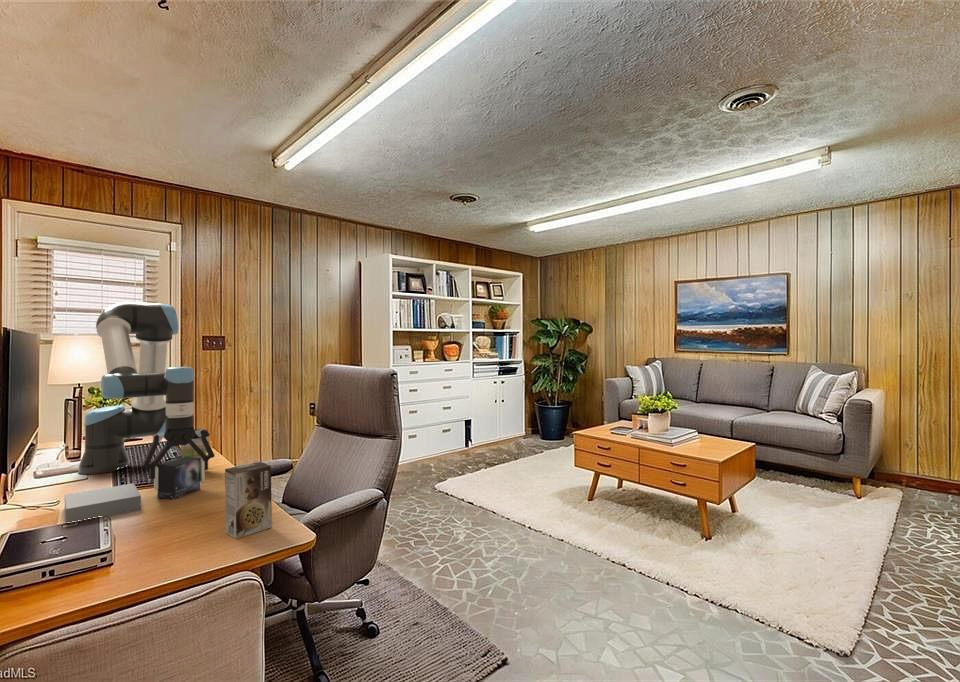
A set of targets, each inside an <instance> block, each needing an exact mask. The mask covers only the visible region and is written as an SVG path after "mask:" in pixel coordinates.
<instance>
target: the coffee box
mask: <svg viewBox="0 0 960 682" xmlns="http://www.w3.org/2000/svg"><path fill="white" fill-rule="evenodd" d="M224 474H225V475H224V478H225V480H224V481H225V483H224V485H225V486H224V487H225V488H224V489H225V491H224V493H225V495H224V496H225V498H224V499H225V500H224V501H225V502H224V503H225V505H224V506H225V508H224V509H225V534H227V535H229V536H230V537H232V538H234V539H240V538H243V537H246V536H250V535H253V534H255V533H258V532H261V531H265V530H268V529H270V528H273V521H272V520H273V519H272V518H273V515H272V512H273V511H272V507H273V506H272V505H273V504H272V466H271V465H270V464H268V463H265V462H263V461H256V462H251V463H248V464H242V465H238V466H232V467H229V468H225V469H224Z"/></svg>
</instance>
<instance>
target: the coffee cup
mask: <svg viewBox="0 0 960 682" xmlns="http://www.w3.org/2000/svg"><path fill="white" fill-rule="evenodd" d="M202 429H203V428H202ZM194 430H195V431H197V430H200V429H199V428H197V429H194ZM203 430H205V436H206V439H207V441H208V442H209V437H210V433H209V431H208V429H205V428H204V429H203ZM191 440H192V441H193V442H194V443H195V444H196V445H197V446H198V447H199V448H200V449H201V450H202V452H203V453H204V454H205V455H208V453H207V451H206V449H205V447H204V445H203V443H202V441H201V439H200V437H199V436H197V434H195V436H194V437H193V438H192V439H191ZM179 448H180V454H181V458H182V457H195V458H201V460H203V458H202V457H201V456H200V455H199V454H198V453H197V452H196V451H195V450H194V449H193V448H192V447H191V446H190V445H189V444H187V445H180V447H179Z"/></svg>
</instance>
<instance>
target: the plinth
mask: <svg viewBox="0 0 960 682" xmlns="http://www.w3.org/2000/svg"><path fill="white" fill-rule="evenodd" d="M141 507H142V495H141V493H140V491H139V490H138V488H137V487H136V485H135V483H128V484H121V485H116V486H110V487H103V488H97V489H91V490H84V491H80V492H79V491H78V492H73V493H67V494H64V515H65V517H64V519H65V524H66V523H67V522H72V521H78V520H84V519H88V518H93V517H98V516H106V517H109V516H115V515H120V514H126V513H130V512H136V511H140V510H142V508H141Z"/></svg>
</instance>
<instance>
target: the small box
mask: <svg viewBox="0 0 960 682" xmlns="http://www.w3.org/2000/svg"><path fill="white" fill-rule="evenodd" d="M200 462H201V458H195V457H182V456H181V457H179V458H175V459H172V460H169V461H165V462H161V463H158V464H157V467H158V490H157V496H156V497H157V499H166V500H167V499H168V500H175V499H177V498H178V499H179V498H180V497H183V496H186V495H189V494H192V493H194V492H197V491H200V490H201V481H200Z"/></svg>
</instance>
